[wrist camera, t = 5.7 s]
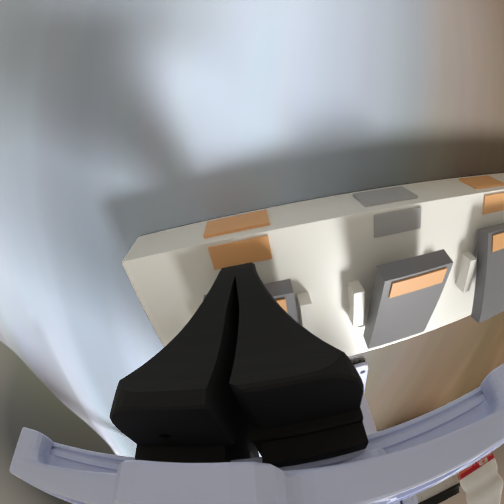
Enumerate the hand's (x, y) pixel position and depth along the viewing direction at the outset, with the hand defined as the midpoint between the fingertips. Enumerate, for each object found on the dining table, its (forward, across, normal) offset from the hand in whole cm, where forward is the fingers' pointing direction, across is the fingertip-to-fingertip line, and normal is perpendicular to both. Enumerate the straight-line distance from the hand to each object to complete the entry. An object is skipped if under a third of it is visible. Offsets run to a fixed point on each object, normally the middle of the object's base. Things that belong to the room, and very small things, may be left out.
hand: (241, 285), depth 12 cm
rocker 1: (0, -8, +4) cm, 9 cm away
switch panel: (+5, -8, +4) cm, 10 cm away
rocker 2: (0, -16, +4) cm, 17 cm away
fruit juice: (+3, -38, +58) cm, 69 cm away
